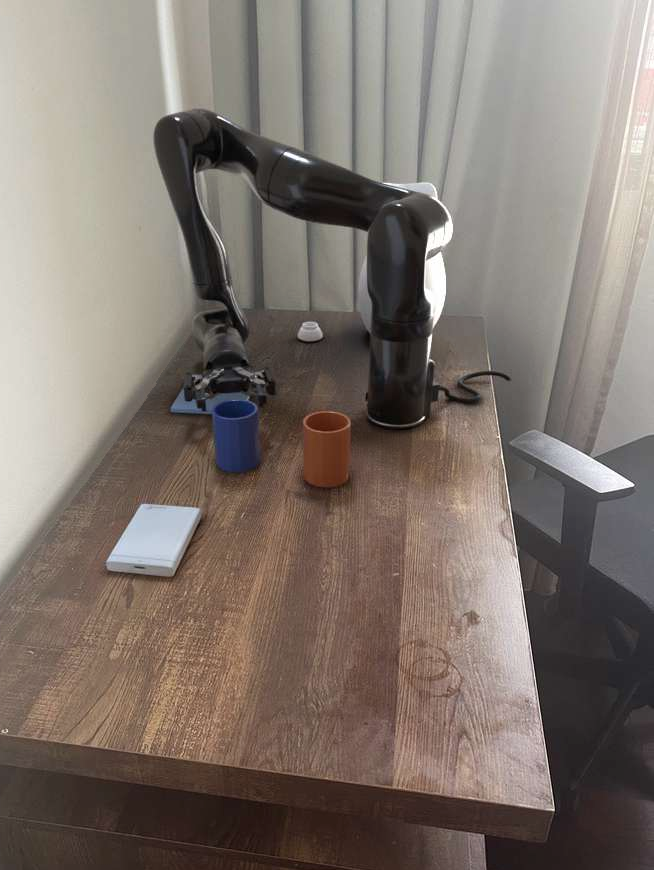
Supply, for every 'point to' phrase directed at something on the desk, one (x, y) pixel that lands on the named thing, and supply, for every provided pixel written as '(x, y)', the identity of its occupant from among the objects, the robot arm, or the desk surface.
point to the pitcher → (433, 269)
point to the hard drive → (155, 540)
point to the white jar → (310, 332)
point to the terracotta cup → (326, 448)
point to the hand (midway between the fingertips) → (232, 403)
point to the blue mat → (191, 406)
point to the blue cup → (236, 435)
